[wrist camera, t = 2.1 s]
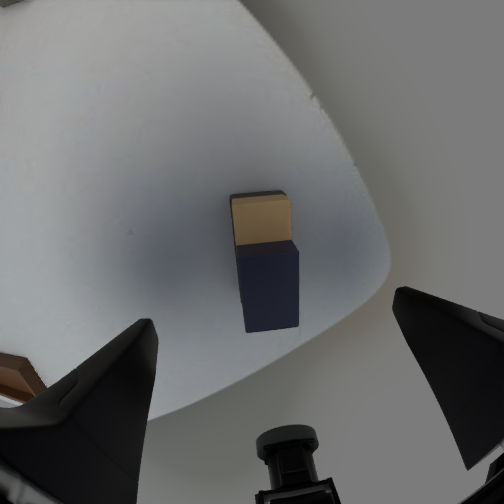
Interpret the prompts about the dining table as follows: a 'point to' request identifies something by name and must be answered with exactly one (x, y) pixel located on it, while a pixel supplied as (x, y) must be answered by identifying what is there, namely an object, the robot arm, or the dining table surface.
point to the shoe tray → (18, 379)
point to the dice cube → (8, 2)
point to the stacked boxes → (266, 260)
